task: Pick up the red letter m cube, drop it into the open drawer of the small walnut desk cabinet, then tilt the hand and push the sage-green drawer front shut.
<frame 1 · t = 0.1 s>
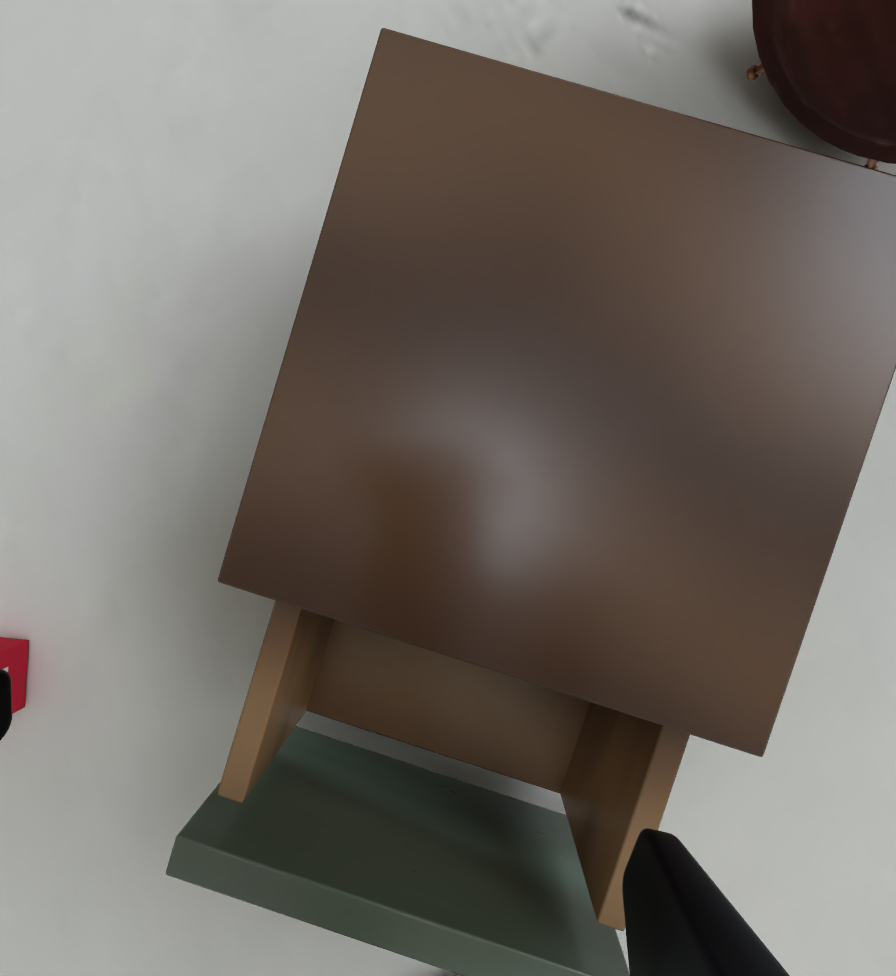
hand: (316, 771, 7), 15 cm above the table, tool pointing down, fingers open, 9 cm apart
cabinet: (531, 426, 22), on the table
alarm clock: (821, 102, 22), on the table
drawer: (458, 691, 18), point 5 cm above the table, slide at 7.5 cm
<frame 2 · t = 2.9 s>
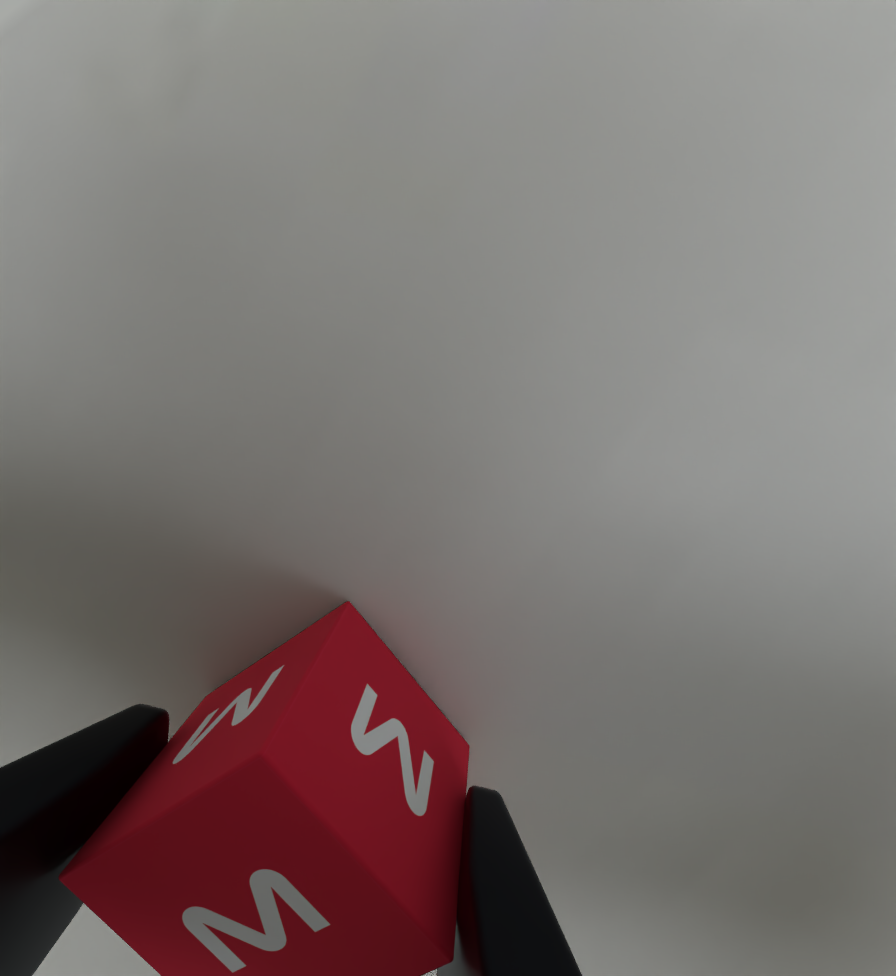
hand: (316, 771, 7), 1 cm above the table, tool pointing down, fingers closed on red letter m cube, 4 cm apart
red letter m cube: (340, 711, 9), on the table, touching gripper
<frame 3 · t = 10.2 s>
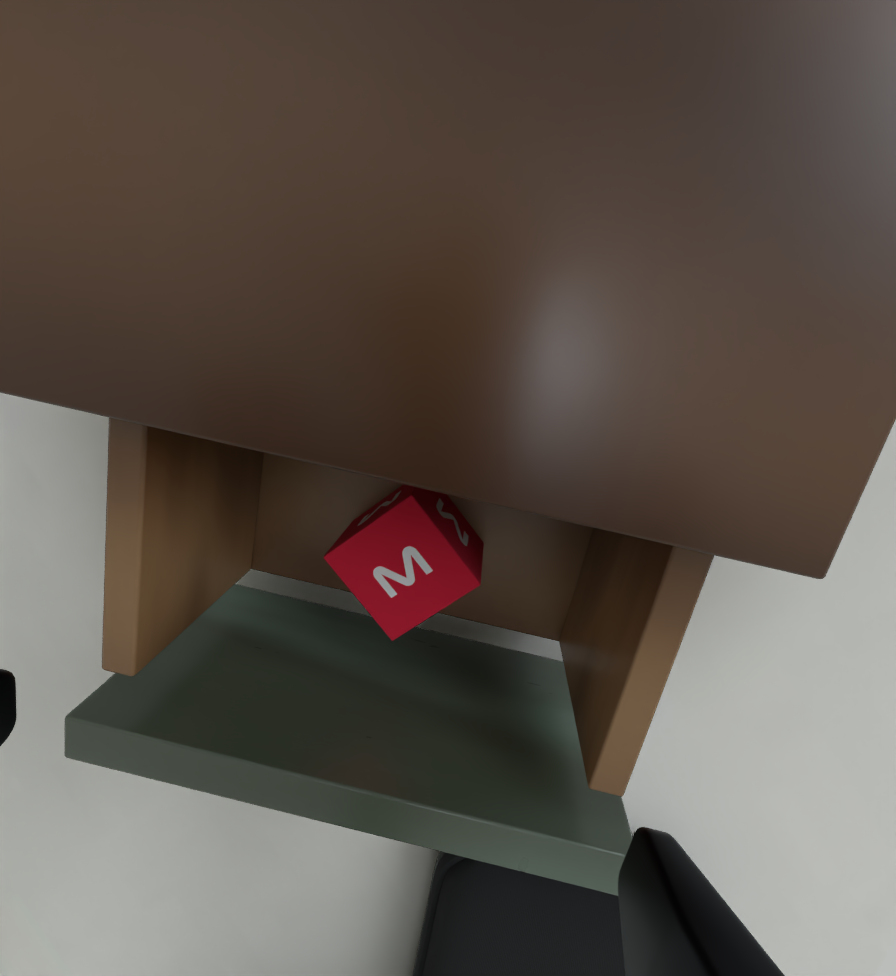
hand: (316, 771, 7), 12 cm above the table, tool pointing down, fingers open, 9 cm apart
red letter m cube: (418, 529, 17), point 2 cm above the table, touching drawer
cabinet: (498, 172, 16), on the table
carrying case: (538, 943, 24), on the table
drawer: (412, 530, 14), point 5 cm above the table, slide at 7.5 cm, touching red letter m cube
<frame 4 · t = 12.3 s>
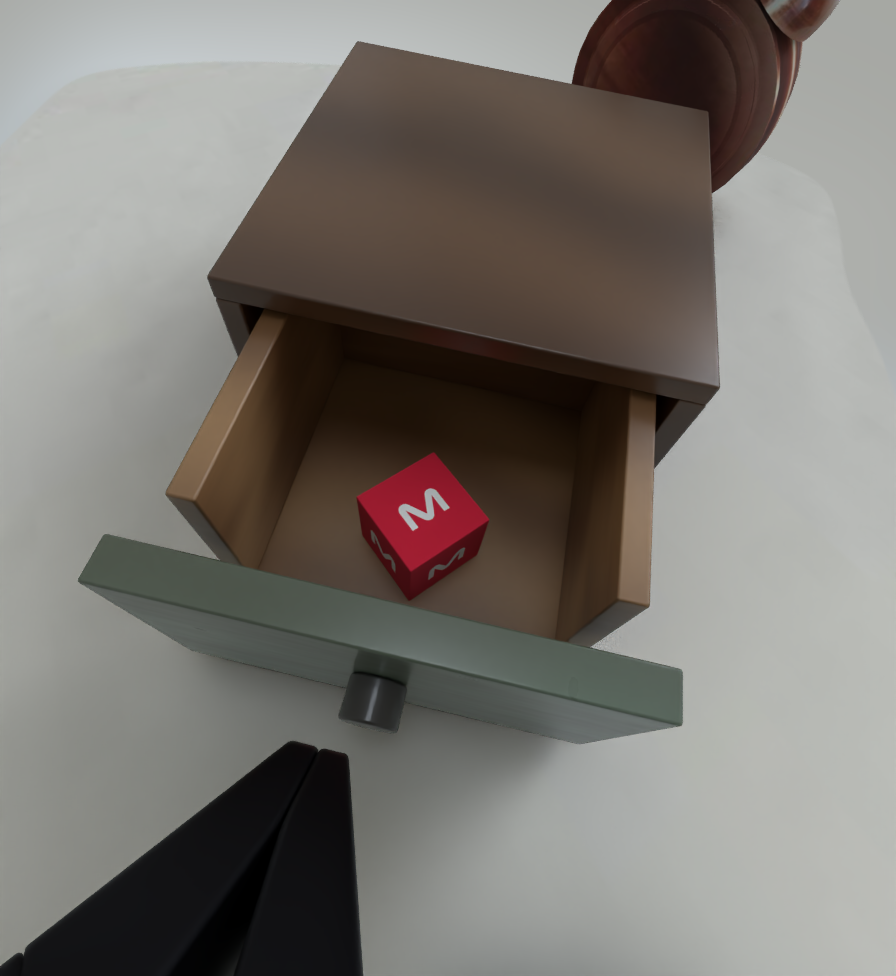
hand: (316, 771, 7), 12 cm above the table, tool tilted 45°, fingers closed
red letter m cube: (419, 546, 20), point 2 cm above the table, touching drawer
cabinet: (471, 360, 26), on the table
alarm clock: (631, 199, 34), on the table
drawer: (430, 487, 18), point 5 cm above the table, slide at 7.5 cm, touching red letter m cube
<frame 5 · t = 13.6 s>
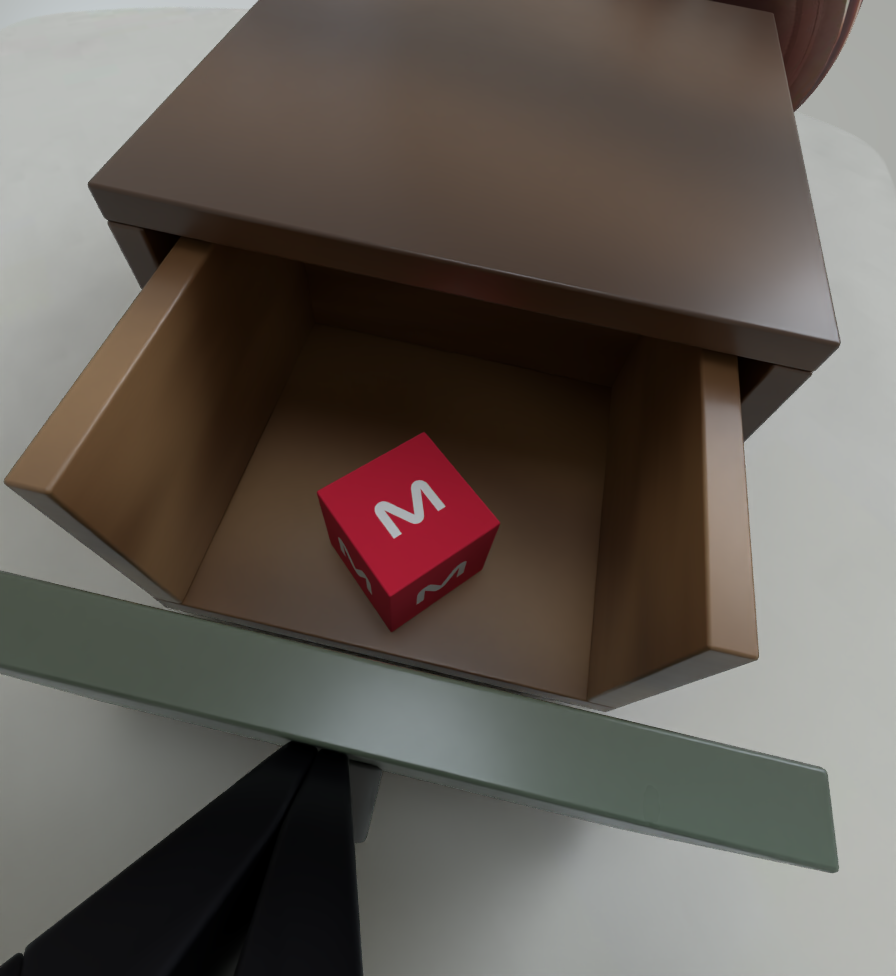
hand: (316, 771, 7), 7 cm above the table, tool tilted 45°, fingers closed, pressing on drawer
red letter m cube: (406, 558, 15), point 2 cm above the table, touching drawer
cabinet: (471, 337, 22), on the table
alarm clock: (656, 159, 29), on the table
drawer: (419, 479, 13), point 5 cm above the table, slide at 7.1 cm, touching red letter m cube, gripper
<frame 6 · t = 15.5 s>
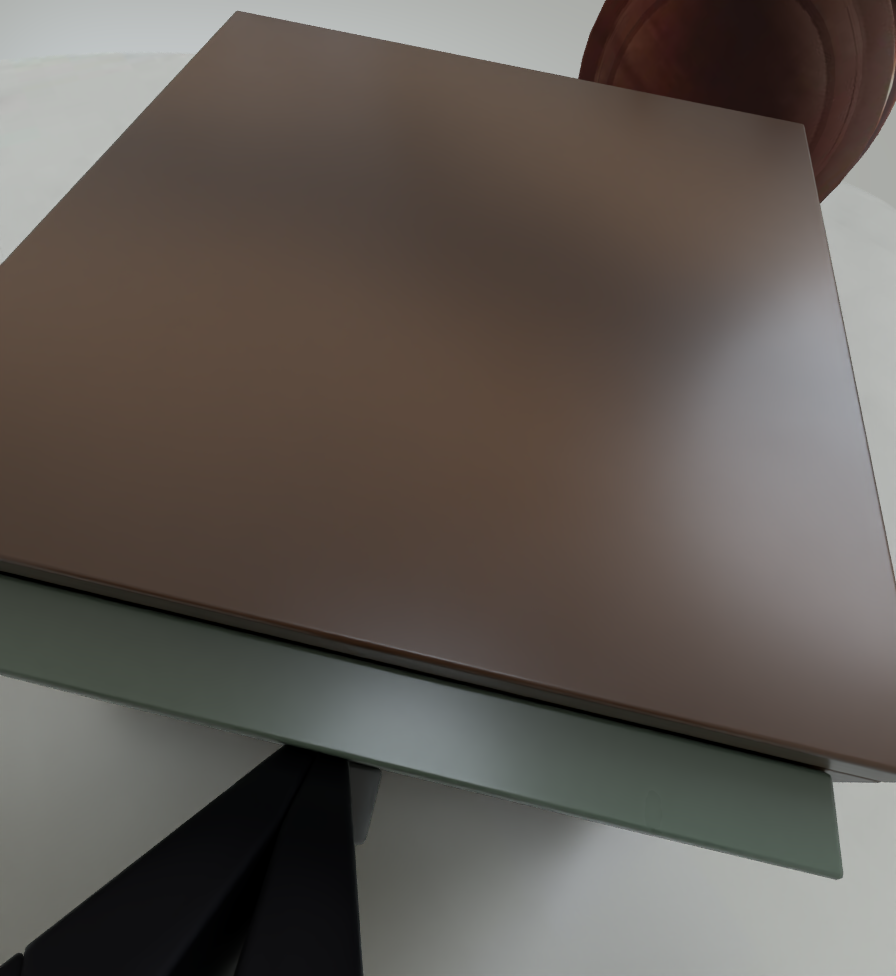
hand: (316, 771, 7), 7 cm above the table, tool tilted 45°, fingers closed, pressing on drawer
cabinet: (431, 485, 18), on the table
alarm clock: (656, 235, 26), on the table
drawer: (419, 478, 13), point 5 cm above the table, slide at 0.0 cm, touching cabinet, red letter m cube, gripper
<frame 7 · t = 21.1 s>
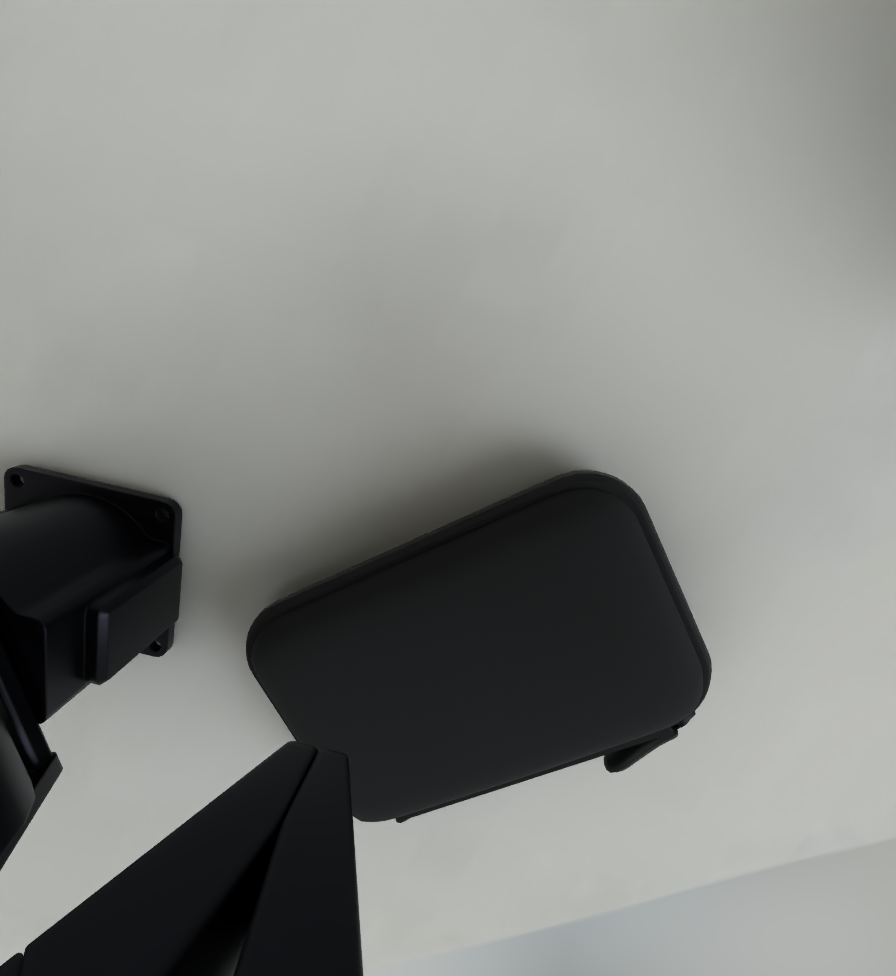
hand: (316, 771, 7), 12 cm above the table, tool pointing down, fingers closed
carrying case: (479, 646, 20), on the table
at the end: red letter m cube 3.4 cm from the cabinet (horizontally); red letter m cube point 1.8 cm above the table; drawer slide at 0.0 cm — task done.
